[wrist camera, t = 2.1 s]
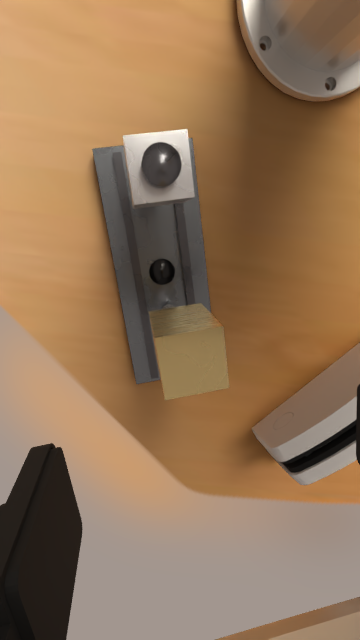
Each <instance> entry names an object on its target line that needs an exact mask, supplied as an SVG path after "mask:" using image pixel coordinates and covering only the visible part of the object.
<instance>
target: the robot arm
mask: <svg viewBox="0 0 360 640" xmlns="http://www.w3.org/2000/svg"><path fill="white" fill-rule="evenodd" d="M237 15H238V20H239V24H240V29H241V33H242V37H243V39H244V42H245V44H246V47H247V49H248V52H249V54H250V56H251V57H252V59H253V61H254V62H255V64H256V66H257V67H258V69H259V70H260V71H261V73H262V74H263V75H264V76H265V77H266V78H267V79H268V80H269V81H270V83H272V84H273V85H274V86H276V87H277V88H278V89H280V90H281V91H282V92H284V93H286V94H288V95H291V96H293V97H295V98H297V99H302V100H307V101H312V102H314V101H329V100H332V99H336V98H340V97H343V96H345V95H346V94H348V93H350V92H352V91H354V90H356V89H357V88H359V87H360V0H237ZM260 47H262V48H263V50H262V49H261V48H260ZM356 457H357V460H358V463H359V464H360V384H359V385H358V387H357V417H356ZM81 538H82V522H81V517H80V513H79V510H78V506H77V502H76V499H75V495H74V491H73V487H72V484H71V480H70V476H69V473H68V469H67V465H66V462H65V458H64V454H63V451H62V448H61V447H57V448H55V446H54V444H52V443H51V444H46V445H42V446H37V447H33V448H31V449H30V451H29V453H28V456H27V458H26V460H25V462H24V464H23V467H22V469H21V471H20V473H19V475H18V478H17V480H16V482H15V485H14V486H13V489H12V491H11V493H10V495H9V497H8V500H7V502H6V503H5V504H2V505H1V506H0V640H66V636H67V630H68V623H69V616H70V610H71V603H72V597H73V590H74V583H75V577H76V570H77V564H78V557H79V551H80V544H81ZM216 640H360V597H357V598H354V599H351V600H347V601H344V602H340V603H337V604H334V605H330V606H327V607H324V608H320V609H317V610H313V611H310V612H307V613H303V614H300V615H296V616H293V617H290V618H286V619H283V620H279V621H276V622H273V623H270V624H266V625H263V626H259V627H256V628H253V629H249V630H246V631H243V632H239V633H236V634H233V635H230V636H226V637H223V638H219V639H216Z"/></svg>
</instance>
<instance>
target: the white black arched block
mask: <svg viewBox="0 0 360 640" xmlns="http://www.w3.org/2000/svg"><path fill="white" fill-rule="evenodd" d="M359 384H360V342H359V343H358V344H357V345H356V346H354V347H353V348H352V349H351V350H349V351H348V352H347V353H346V354H344V355H343V356H342V357H341V358H339V359H338V360H337V361H335V362H334V363H333V364H332V365H330V366H329V367H328V368H327V369H325V370H324V371H323V372H322V373H320V374H319V375H318V376H317V377H315V378H314V379H313V380H311V381H310V382H309V383H308V384H306V385H305V386H304V387H303V388H301V389H300V390H299V391H298V392H296V393H295V394H294V395H293V396H291V397H290V398H289V399H287V400H286V401H285V402H284V403H282V404H281V405H280V406H279V407H277V408H276V409H275V410H274V411H272V412H271V413H270V414H269V415H267V416H266V417H265V418H263V419H262V420H261V421H260V422H258V423H257V424H256V425H255V426H253V427H252V430H253V433H254V434H255V436H256V438H257V439H258V440H259V442H260V443H261V444H262V445H263V446H264V447H265V448H266V450H267V451H268V453H269V454H270V455H271V456H272V457H273V458H274V459H275V460H276V461H277V462H278V464H279V465H280V466H281V467H282V468H283V469H284V470H285V471H286V472H287V473H288V474H289V475H290V476H291V477H292V478H293V479H295V480H296V481H297V482H298V483H299V484H301V485H308V484H311V483H313V482H316V481H318V480H320V479H322V478H324V477H326V476H328V475H330V474H332V473H334V472H336V471H338V470H340V469H342V468H344V467H345V466H347V465H349V464H350V463H352V462H354V461H355V460H357V457H356V417H357V387H358V385H359Z"/></svg>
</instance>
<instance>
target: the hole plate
mask: <svg viewBox="0 0 360 640" xmlns="http://www.w3.org/2000/svg"><path fill="white" fill-rule="evenodd" d="M123 144H124V145H123V146H114V147H105V148H95V149H92V150H93V155H94V160H95V166H96V171H97V176H98V182H99V187H100V192H101V198H102V203H103V208H104V214H105V219H106V224H107V230H108V235H109V240H110V246H111V251H112V256H113V261H114V267H115V272H116V277H117V283H118V288H119V293H120V299H121V304H122V309H123V315H124V320H125V325H126V331H127V336H128V341H129V347H130V352H131V357H132V363H133V368H134V373H135V379H136V384H140V383H145V382H151V381H156V380H161V379H160V374H159V369H158V364H157V359H156V353H155V347H154V340H153V334H152V328H151V322H150V316H149V311H155V310H161V309H162V308H163V307H164V306H165V305H168V304H170V305H173V306H174V307H179V306H186V305H192V304H198V303H201V304H202V305H203V306H204V307H205V308H206V309H207V310H208V311H209V312H210V313H211V308H210V298H209V289H208V280H207V270H206V261H205V252H204V242H203V233H202V224H201V215H200V205H199V196H198V187H197V177H196V168H195V159H194V149H193V140H192V138H188V131H187V129H181V130H172V131H162V132H153V133H143V134H134V135H124V136H123Z"/></svg>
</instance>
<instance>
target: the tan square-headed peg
mask: <svg viewBox="0 0 360 640" xmlns="http://www.w3.org/2000/svg"><path fill="white" fill-rule="evenodd" d="M149 316H150V322H151V328H152V334H153V340H154V347H155V353H156V359H157V364H158V369H159V374H160V379H161V383H162V388H163V393H164V398H165V400H170V399H175V398H180V397H186V396H191V395H196V394H201V393H206V392H211V391H216V390H222V389H227V388H229V378H228V368H227V357H226V347H225V337H224V327H223V325H222V324H221V323H220V322H219V321H218V320H217V319H216V318H215V317H214V316H213V315H212V314H211V313H210V312H209V311H208V310H207V309H206V308H205V307H204V306H203V305H202V304H201V303H198V304H192V305H186V306H179V307H174V306H173V305H170V304H168V305H165V306H164V307H163V308H162V309H161V310H155V311H149Z"/></svg>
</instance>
